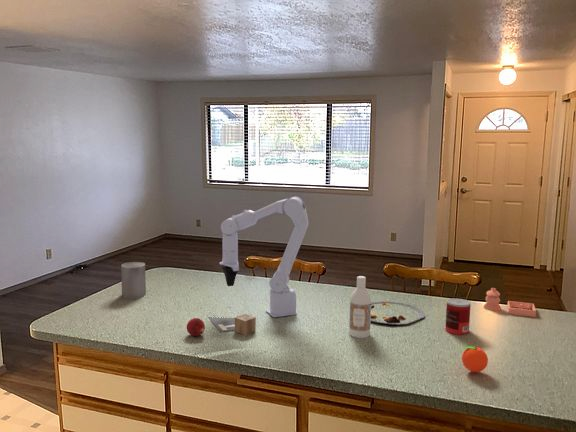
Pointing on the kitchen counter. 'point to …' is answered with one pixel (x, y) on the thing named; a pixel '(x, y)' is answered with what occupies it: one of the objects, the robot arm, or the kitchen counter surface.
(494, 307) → the pottery
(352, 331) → the bath foam
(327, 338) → the kitchen counter surface
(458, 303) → the canned food
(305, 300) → the kitchen counter surface
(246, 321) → the walnut block
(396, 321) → the food plate
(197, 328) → the onion
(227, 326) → the letter mat
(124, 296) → the pillar candle
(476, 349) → the clementine
